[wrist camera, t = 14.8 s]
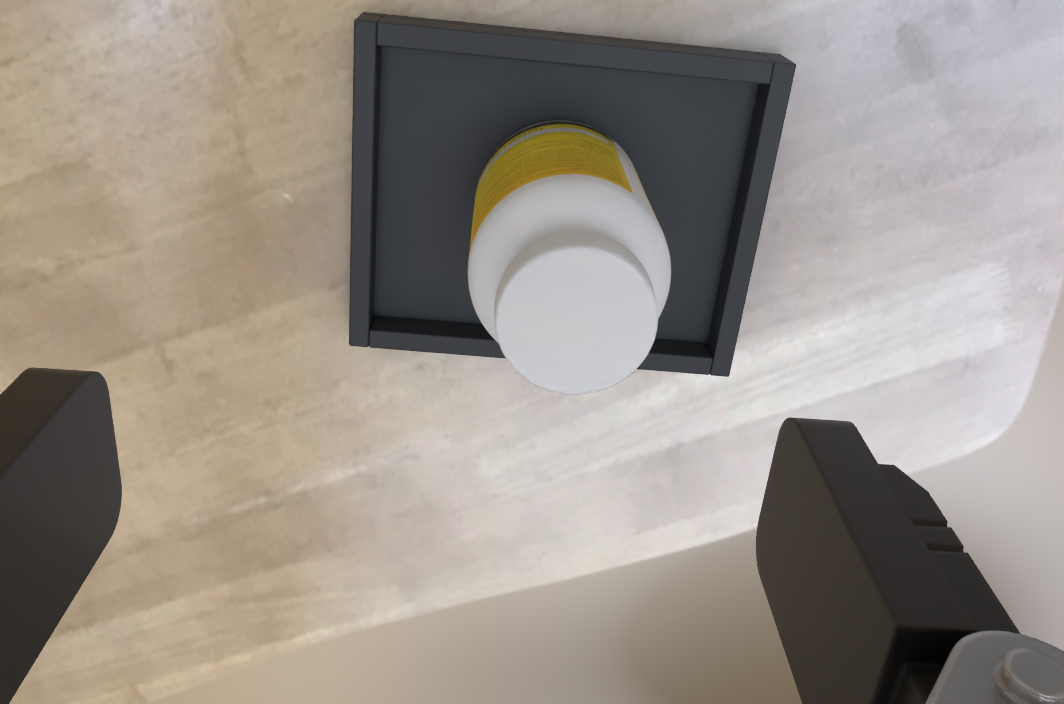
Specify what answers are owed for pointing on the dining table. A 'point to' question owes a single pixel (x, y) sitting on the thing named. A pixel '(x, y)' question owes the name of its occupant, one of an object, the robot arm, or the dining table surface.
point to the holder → (534, 97)
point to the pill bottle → (567, 258)
